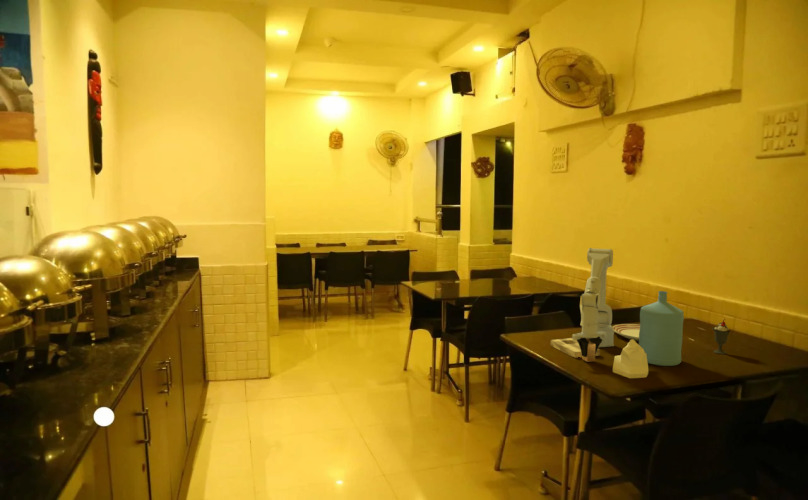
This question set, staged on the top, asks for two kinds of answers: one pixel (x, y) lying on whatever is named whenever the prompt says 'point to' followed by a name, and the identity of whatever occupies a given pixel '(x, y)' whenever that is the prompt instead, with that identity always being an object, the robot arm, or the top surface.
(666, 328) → the water jug
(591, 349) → the brown wooden block
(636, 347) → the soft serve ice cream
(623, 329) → the dinner plate
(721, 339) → the sundae
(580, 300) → the beer glass
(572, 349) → the board
